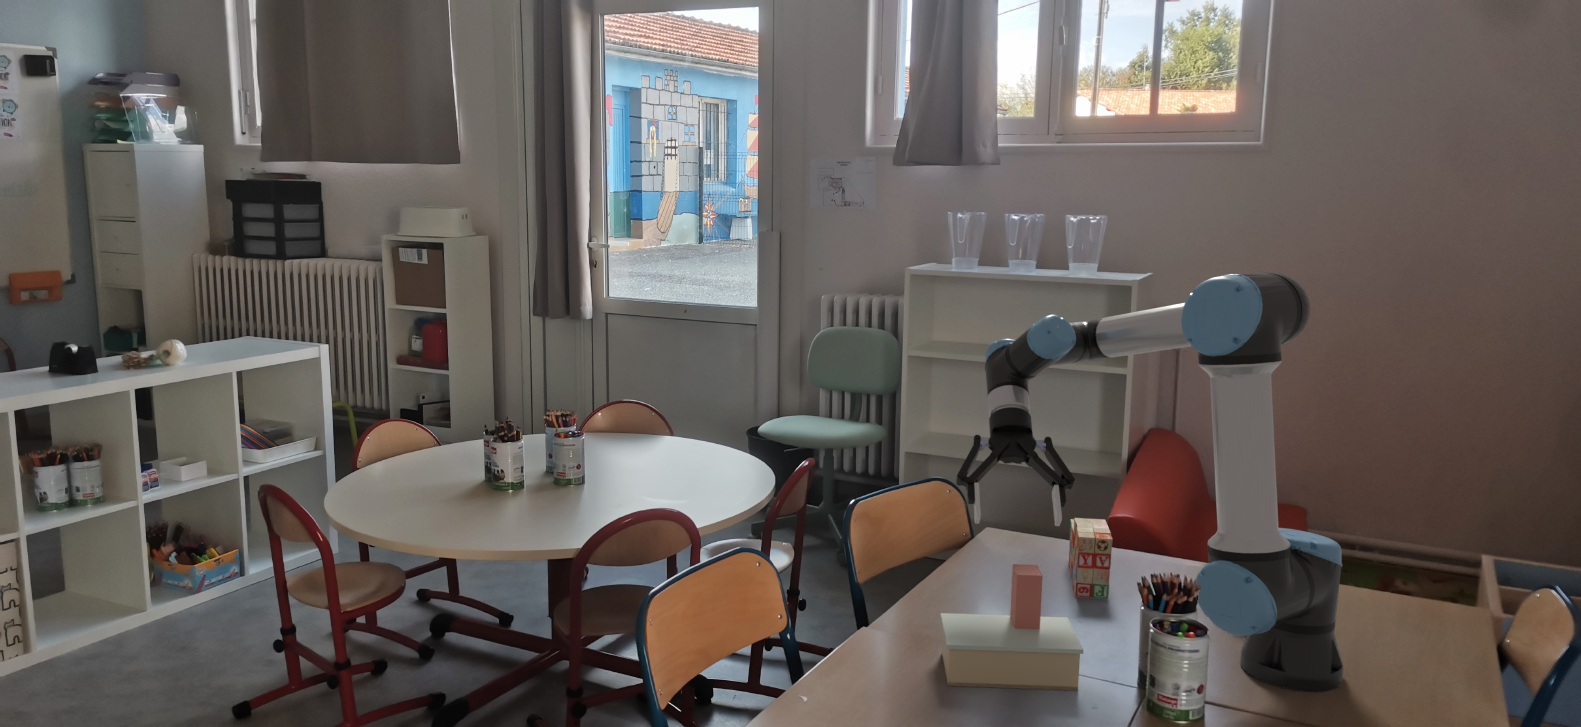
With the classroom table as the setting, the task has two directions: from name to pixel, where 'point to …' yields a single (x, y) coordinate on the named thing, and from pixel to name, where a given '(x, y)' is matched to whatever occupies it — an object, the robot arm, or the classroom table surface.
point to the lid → (1013, 623)
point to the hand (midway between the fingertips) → (1018, 521)
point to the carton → (1011, 669)
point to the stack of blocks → (1090, 557)
